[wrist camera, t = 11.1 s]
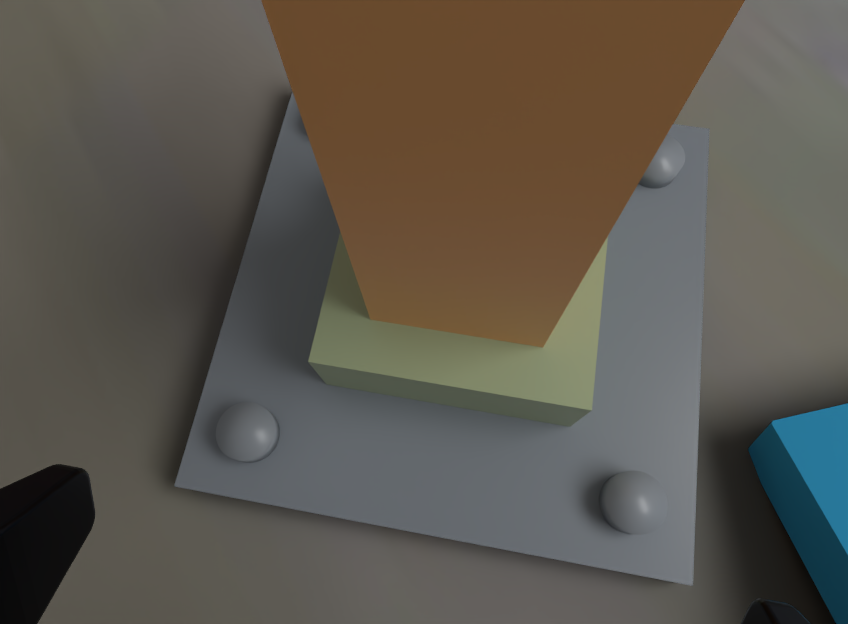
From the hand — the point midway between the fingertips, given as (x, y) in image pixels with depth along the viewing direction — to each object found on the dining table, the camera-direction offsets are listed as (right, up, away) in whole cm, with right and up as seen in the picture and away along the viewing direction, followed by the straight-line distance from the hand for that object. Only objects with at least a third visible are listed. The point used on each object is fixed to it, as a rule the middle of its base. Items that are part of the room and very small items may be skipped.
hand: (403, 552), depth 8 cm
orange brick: (+2, +5, +10) cm, 11 cm away
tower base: (+2, +4, +14) cm, 15 cm away
